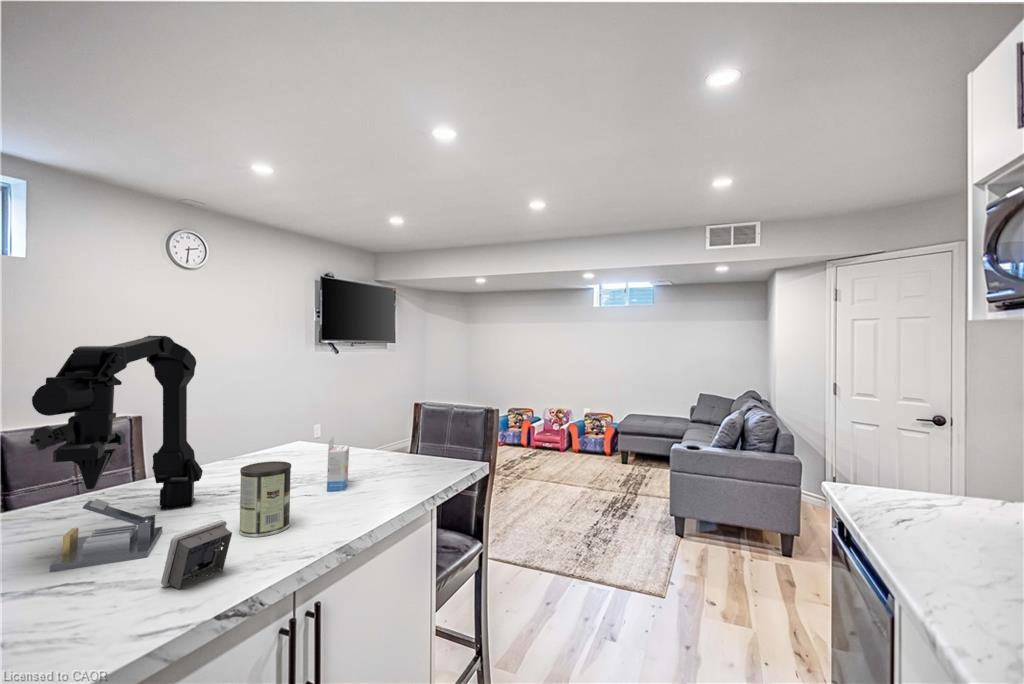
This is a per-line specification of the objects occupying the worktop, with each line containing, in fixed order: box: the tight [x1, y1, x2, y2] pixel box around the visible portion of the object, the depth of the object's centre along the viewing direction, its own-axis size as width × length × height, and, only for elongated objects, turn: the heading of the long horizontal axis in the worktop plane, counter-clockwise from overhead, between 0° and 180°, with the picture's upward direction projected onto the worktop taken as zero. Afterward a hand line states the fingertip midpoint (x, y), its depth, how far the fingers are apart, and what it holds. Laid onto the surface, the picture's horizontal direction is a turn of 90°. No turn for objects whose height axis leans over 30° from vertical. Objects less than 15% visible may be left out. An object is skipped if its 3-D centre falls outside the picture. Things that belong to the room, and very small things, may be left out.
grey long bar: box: [82, 498, 153, 526], centre depth 93 cm, size 12×3×2 cm, turn 117°
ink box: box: [326, 435, 350, 492], centre depth 138 cm, size 8×5×15 cm, turn 13°
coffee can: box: [238, 460, 292, 538], centre depth 105 cm, size 10×10×14 cm
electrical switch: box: [160, 519, 233, 591], centre depth 82 cm, size 9×5×9 cm, turn 158°
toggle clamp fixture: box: [49, 514, 163, 573], centre depth 93 cm, size 14×14×5 cm
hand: (90, 488), depth 91 cm, fingers closed
